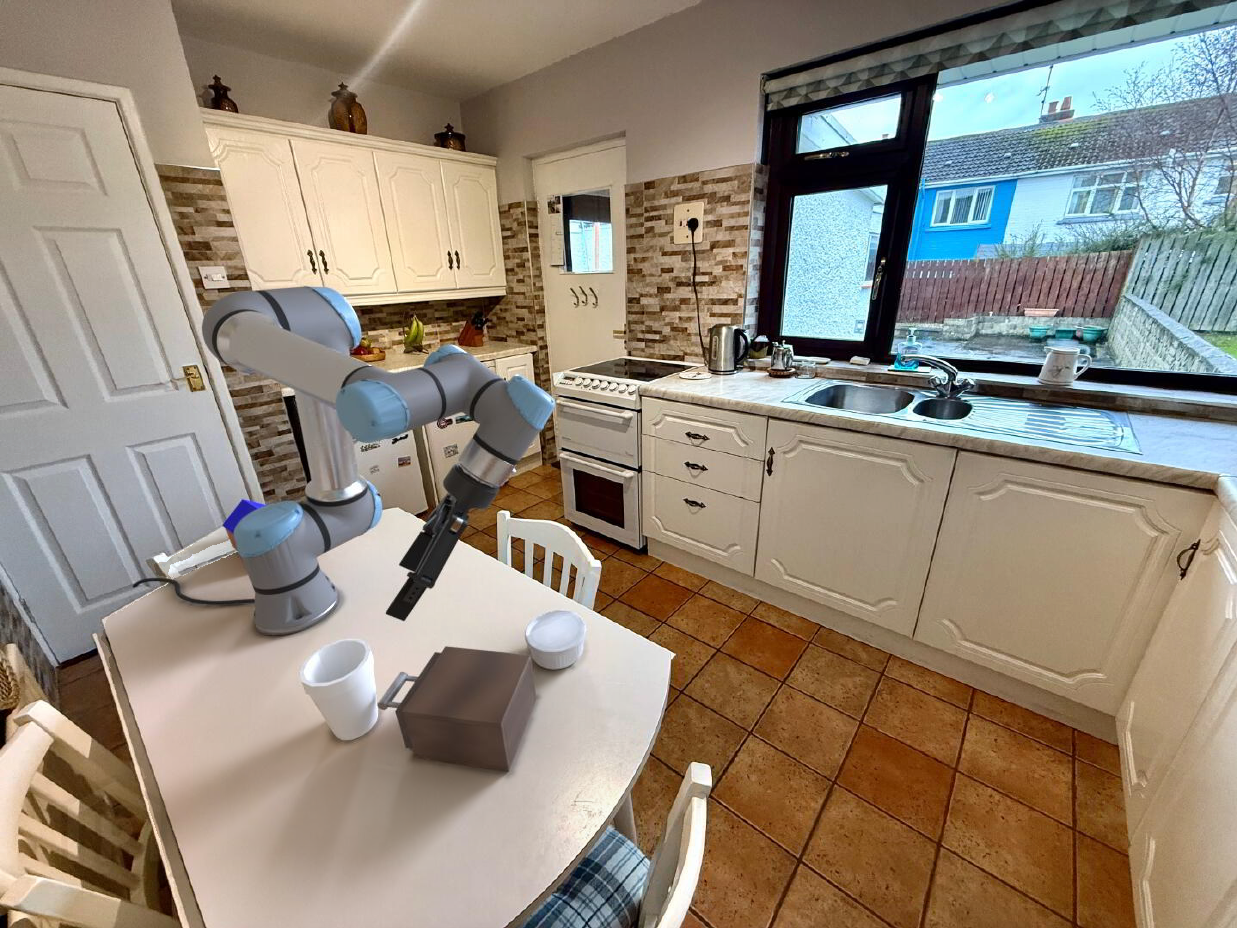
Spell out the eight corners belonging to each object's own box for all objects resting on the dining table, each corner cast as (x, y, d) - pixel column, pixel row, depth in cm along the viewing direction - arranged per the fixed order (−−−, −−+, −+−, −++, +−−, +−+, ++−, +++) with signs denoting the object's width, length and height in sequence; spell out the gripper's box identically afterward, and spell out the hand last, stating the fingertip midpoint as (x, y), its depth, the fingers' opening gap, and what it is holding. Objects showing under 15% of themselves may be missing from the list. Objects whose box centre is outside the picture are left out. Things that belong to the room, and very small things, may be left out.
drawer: (373, 744, 73) (361, 706, 70) (414, 683, 83) (405, 648, 80) (491, 760, 70) (484, 722, 67) (518, 695, 80) (513, 660, 77)
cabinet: (415, 758, 72) (402, 711, 68) (454, 688, 83) (445, 645, 79) (508, 771, 69) (500, 724, 66) (536, 698, 81) (530, 654, 77)
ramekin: (545, 625, 97) (542, 603, 95) (596, 637, 93) (595, 615, 91) (516, 666, 87) (512, 643, 85) (572, 681, 84) (570, 658, 82)
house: (280, 527, 136) (268, 490, 131) (314, 549, 125) (301, 509, 121) (230, 547, 127) (215, 508, 122) (262, 572, 116) (246, 530, 112)
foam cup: (361, 754, 72) (340, 691, 67) (309, 744, 74) (283, 681, 69) (400, 701, 81) (383, 641, 76) (351, 693, 83) (332, 634, 78)
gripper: (507, 520, 61) (416, 652, 63) (497, 462, 84) (430, 560, 85) (453, 491, 58) (359, 631, 60) (457, 440, 81) (390, 542, 82)
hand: (401, 590), depth 72 cm, fingers open, 13 cm apart
